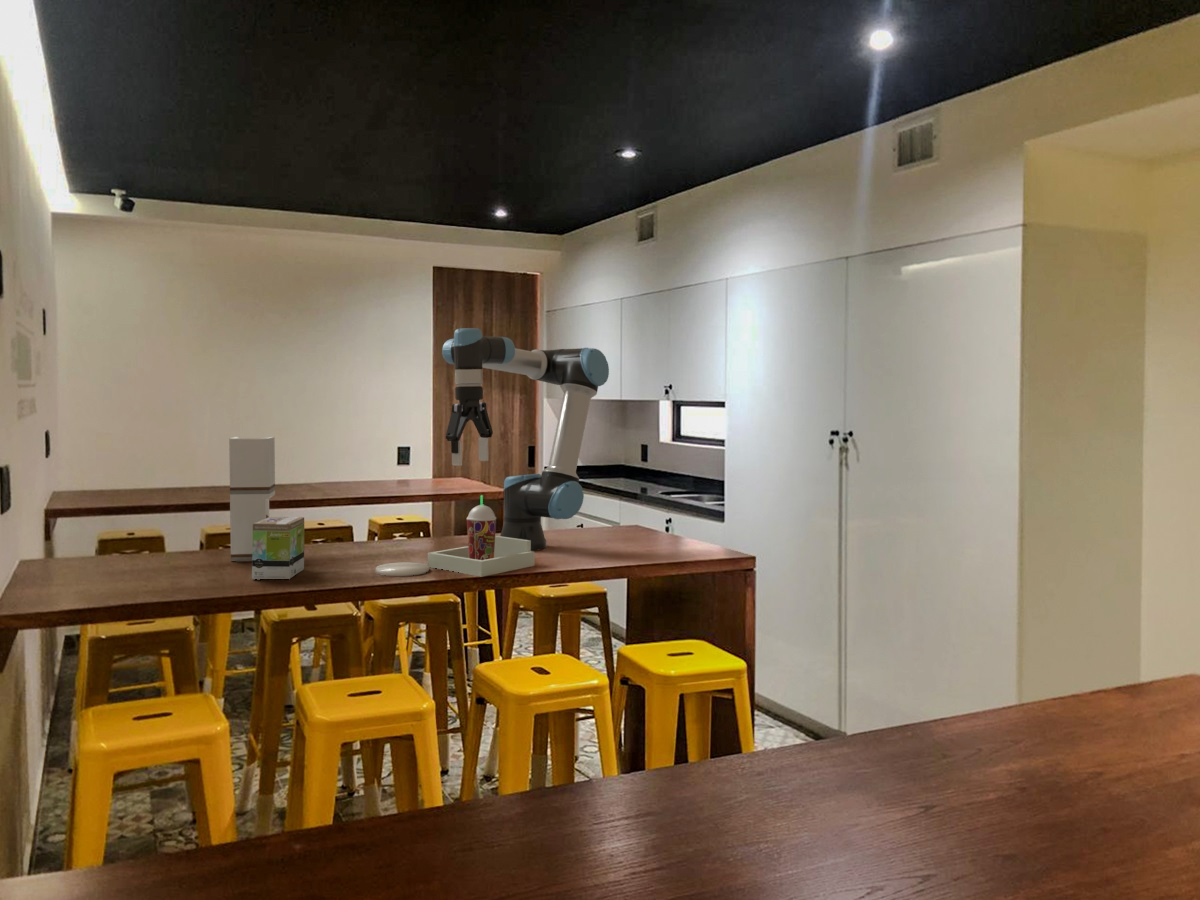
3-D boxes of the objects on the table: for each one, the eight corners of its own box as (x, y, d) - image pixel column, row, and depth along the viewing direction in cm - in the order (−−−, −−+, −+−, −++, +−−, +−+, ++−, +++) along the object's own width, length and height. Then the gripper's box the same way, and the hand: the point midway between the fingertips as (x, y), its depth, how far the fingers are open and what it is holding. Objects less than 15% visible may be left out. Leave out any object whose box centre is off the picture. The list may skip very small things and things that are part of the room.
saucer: (405, 564, 260) (405, 560, 260) (439, 570, 252) (439, 566, 252) (365, 571, 249) (365, 567, 249) (399, 578, 241) (399, 573, 241)
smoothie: (491, 569, 254) (491, 497, 253) (462, 568, 256) (462, 496, 255) (500, 564, 262) (500, 494, 261) (472, 563, 264) (472, 493, 263)
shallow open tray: (481, 557, 274) (481, 533, 273) (534, 565, 261) (534, 541, 260) (427, 567, 257) (427, 542, 257) (481, 576, 244) (481, 550, 244)
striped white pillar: (270, 560, 265) (268, 438, 263) (230, 561, 263) (229, 438, 261) (275, 553, 276) (274, 436, 274) (237, 554, 274) (236, 436, 272)
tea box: (291, 580, 237) (290, 523, 237) (251, 580, 237) (250, 523, 236) (305, 569, 252) (304, 515, 252) (267, 569, 252) (266, 515, 251)
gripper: (481, 384, 265) (482, 458, 267) (431, 386, 242) (433, 467, 244) (504, 384, 262) (505, 459, 264) (455, 386, 239) (457, 467, 241)
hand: (470, 463), depth 254 cm, fingers open, 13 cm apart
